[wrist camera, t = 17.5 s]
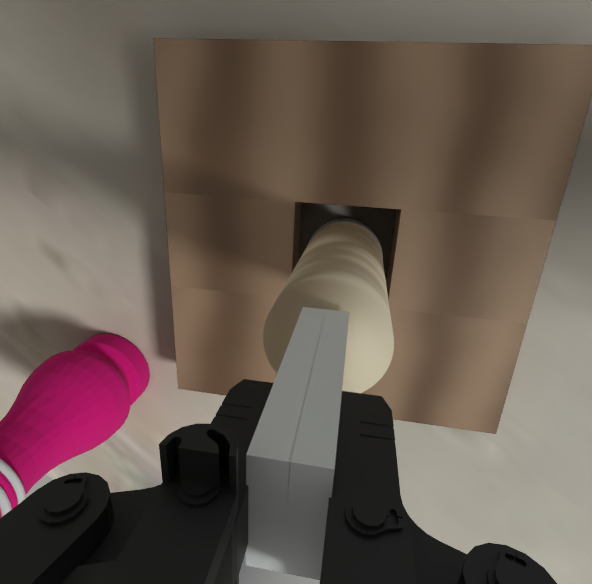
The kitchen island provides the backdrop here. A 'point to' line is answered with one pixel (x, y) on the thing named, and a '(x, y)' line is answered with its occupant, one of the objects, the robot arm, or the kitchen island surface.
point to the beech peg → (339, 300)
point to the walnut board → (368, 198)
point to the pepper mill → (67, 410)
